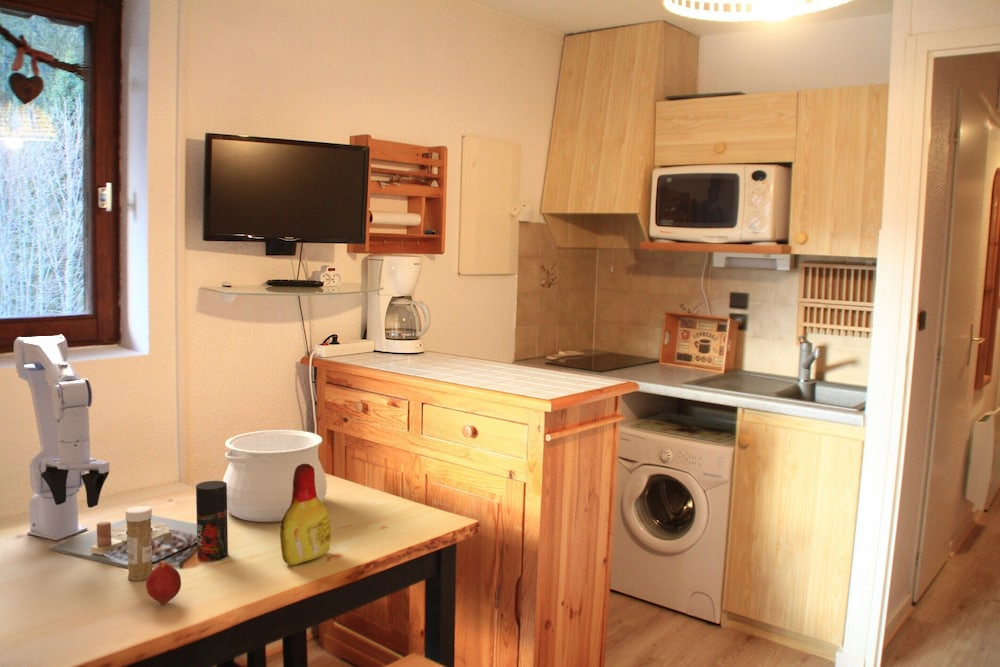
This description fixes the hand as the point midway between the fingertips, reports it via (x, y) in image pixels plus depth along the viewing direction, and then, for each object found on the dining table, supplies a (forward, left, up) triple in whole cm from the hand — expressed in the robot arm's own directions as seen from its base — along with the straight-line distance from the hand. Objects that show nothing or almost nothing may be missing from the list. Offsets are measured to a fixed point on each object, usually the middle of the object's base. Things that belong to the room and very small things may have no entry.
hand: (76, 504), depth 171 cm
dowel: (+15, +10, -10) cm, 20 cm away
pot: (+18, +40, -10) cm, 45 cm away
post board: (+6, +10, -10) cm, 16 cm away
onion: (+34, -11, -10) cm, 37 cm away
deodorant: (+26, +10, -10) cm, 30 cm away
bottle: (+44, +17, -10) cm, 48 cm away
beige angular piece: (+6, +8, -9) cm, 13 cm away
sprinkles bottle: (+21, -4, -10) cm, 24 cm away
